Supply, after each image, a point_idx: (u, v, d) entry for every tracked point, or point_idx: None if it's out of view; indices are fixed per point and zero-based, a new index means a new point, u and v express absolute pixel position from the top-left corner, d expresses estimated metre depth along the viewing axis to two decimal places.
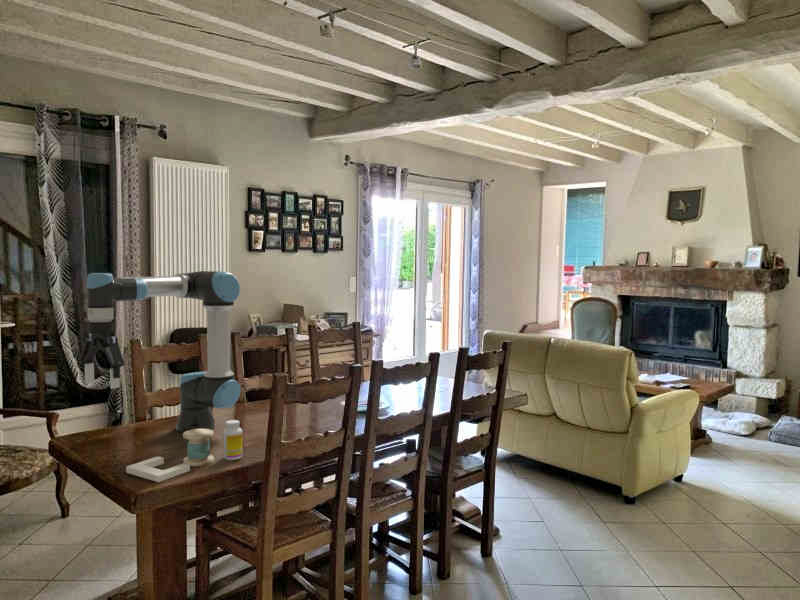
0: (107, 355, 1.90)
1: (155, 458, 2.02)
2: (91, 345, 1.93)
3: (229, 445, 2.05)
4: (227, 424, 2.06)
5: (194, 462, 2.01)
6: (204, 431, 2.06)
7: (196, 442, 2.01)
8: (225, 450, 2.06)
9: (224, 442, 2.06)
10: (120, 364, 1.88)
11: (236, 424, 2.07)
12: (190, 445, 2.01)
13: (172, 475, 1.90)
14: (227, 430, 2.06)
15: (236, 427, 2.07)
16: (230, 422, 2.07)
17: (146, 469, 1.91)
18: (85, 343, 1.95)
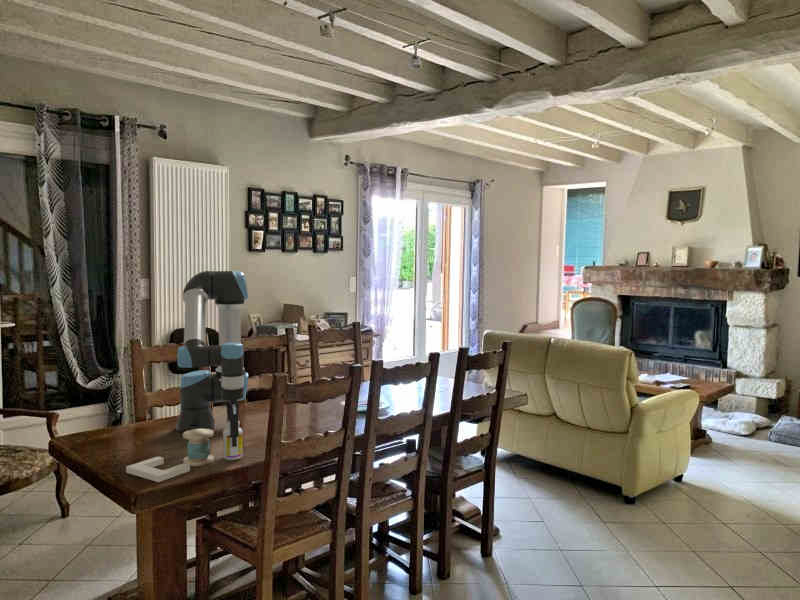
0: (230, 423, 2.05)
1: (155, 458, 2.02)
2: (227, 410, 2.09)
3: (229, 444, 2.05)
4: (227, 424, 2.06)
5: (194, 462, 2.01)
6: (204, 431, 2.06)
7: (196, 442, 2.01)
8: (225, 450, 2.06)
9: (224, 442, 2.06)
10: (234, 435, 2.02)
11: None
12: (190, 445, 2.01)
13: (172, 475, 1.90)
14: (227, 430, 2.06)
15: None
16: None
17: (146, 469, 1.91)
18: None
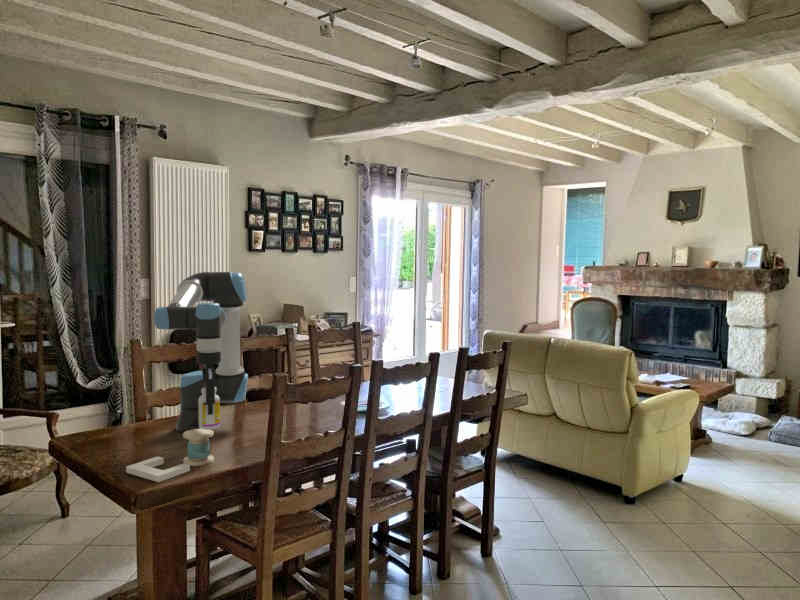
0: None
1: (155, 458, 2.02)
2: (203, 376, 1.94)
3: (205, 412, 1.90)
4: (203, 390, 1.91)
5: (194, 462, 2.01)
6: (204, 431, 2.06)
7: (196, 442, 2.01)
8: (201, 418, 1.90)
9: (199, 410, 1.91)
10: (210, 401, 1.86)
11: None
12: (190, 445, 2.01)
13: (172, 475, 1.90)
14: (203, 397, 1.91)
15: None
16: None
17: (146, 469, 1.91)
18: None
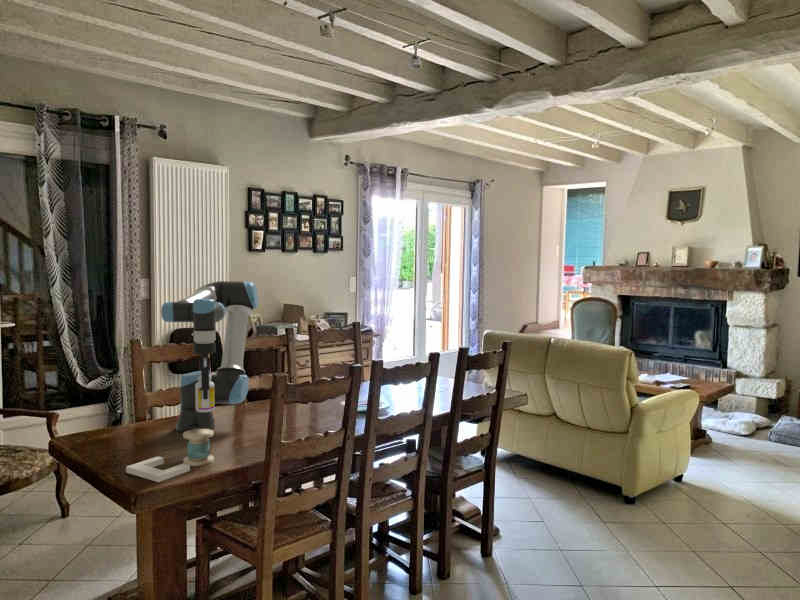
0: None
1: (155, 458, 2.02)
2: None
3: None
4: (199, 377, 2.12)
5: (194, 462, 2.01)
6: (204, 431, 2.06)
7: (196, 442, 2.01)
8: (197, 402, 2.12)
9: (196, 395, 2.12)
10: (205, 387, 2.08)
11: None
12: (190, 445, 2.01)
13: (172, 475, 1.90)
14: (199, 383, 2.12)
15: None
16: None
17: (146, 469, 1.91)
18: (201, 364, 2.19)
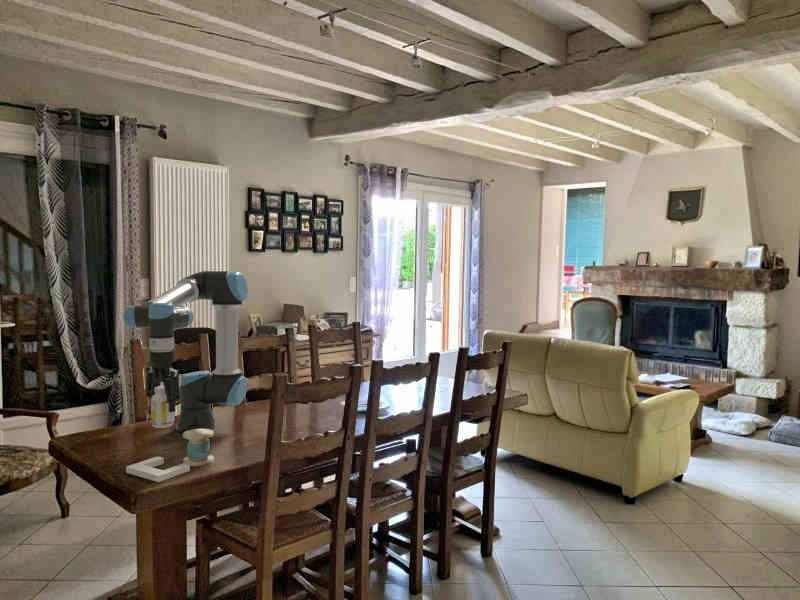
0: (165, 387, 1.92)
1: (155, 458, 2.02)
2: (153, 376, 1.94)
3: (165, 411, 1.92)
4: (159, 390, 1.92)
5: (194, 462, 2.01)
6: (204, 431, 2.06)
7: (196, 442, 2.01)
8: (159, 418, 1.92)
9: (157, 409, 1.92)
10: (176, 398, 1.91)
11: None
12: (190, 445, 2.01)
13: (172, 475, 1.90)
14: (160, 396, 1.92)
15: None
16: (161, 387, 1.93)
17: (146, 469, 1.91)
18: (147, 376, 1.96)
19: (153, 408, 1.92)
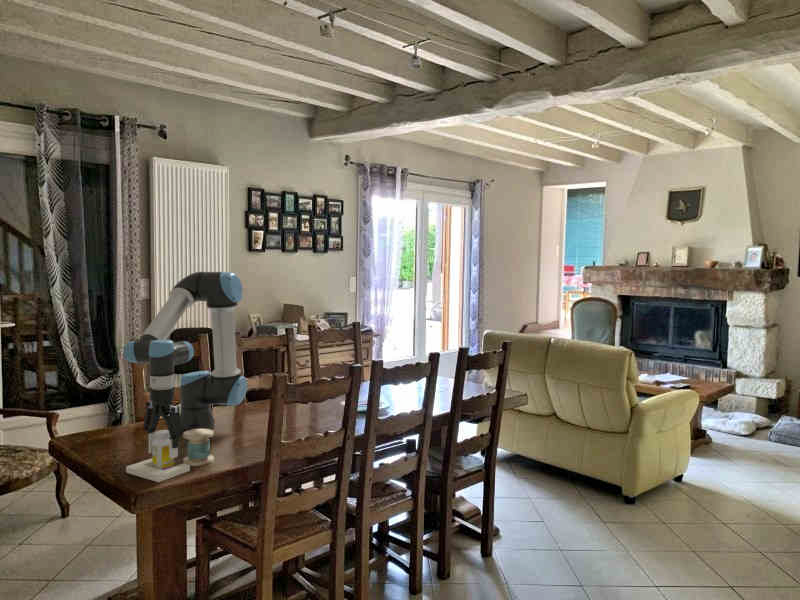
0: (167, 424, 1.92)
1: None
2: (153, 412, 1.95)
3: (165, 456, 1.93)
4: (160, 435, 1.93)
5: (194, 462, 2.01)
6: (204, 431, 2.06)
7: (196, 442, 2.01)
8: (160, 463, 1.93)
9: (158, 454, 1.93)
10: (179, 435, 1.91)
11: (169, 433, 1.95)
12: (190, 445, 2.01)
13: (172, 475, 1.90)
14: (161, 441, 1.93)
15: (169, 436, 1.96)
16: (162, 432, 1.94)
17: (146, 469, 1.91)
18: (147, 411, 1.97)
19: (154, 453, 1.93)
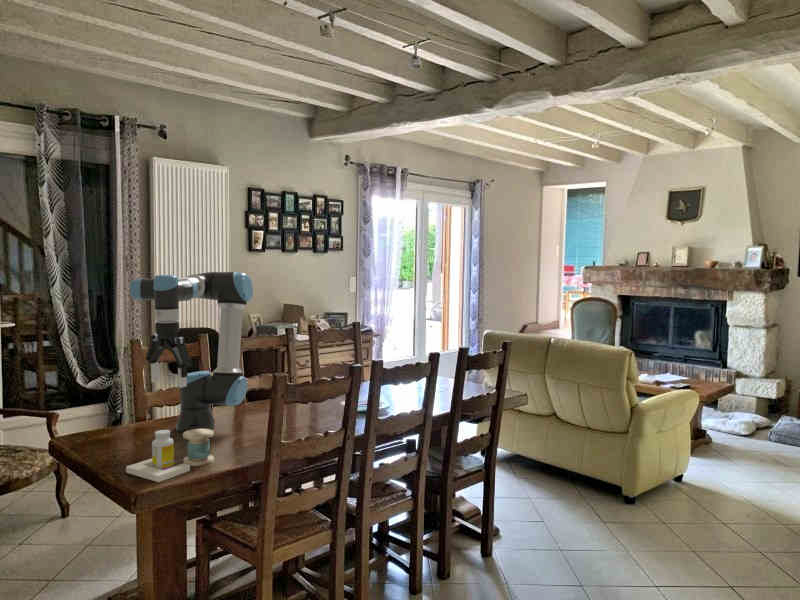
0: (175, 355, 1.95)
1: None
2: (158, 345, 1.98)
3: (165, 456, 1.93)
4: (160, 435, 1.93)
5: (194, 462, 2.01)
6: (204, 431, 2.06)
7: (196, 442, 2.01)
8: (160, 463, 1.93)
9: (158, 454, 1.93)
10: (188, 364, 1.94)
11: (169, 433, 1.95)
12: (190, 445, 2.01)
13: (172, 475, 1.90)
14: (160, 441, 1.93)
15: (169, 436, 1.95)
16: (162, 432, 1.94)
17: (146, 469, 1.91)
18: (151, 343, 2.01)
19: (154, 453, 1.93)
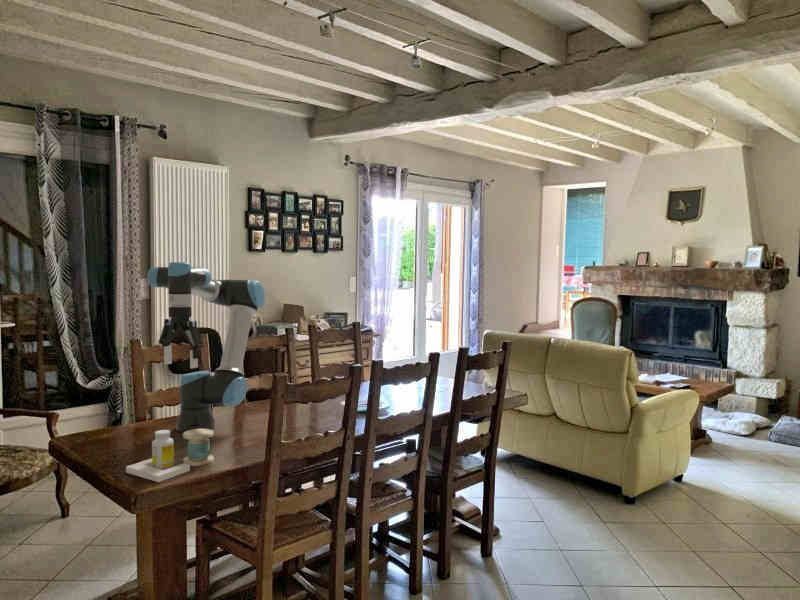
0: (187, 337, 2.06)
1: None
2: (171, 328, 2.09)
3: (165, 456, 1.93)
4: (160, 435, 1.93)
5: (194, 462, 2.01)
6: (204, 431, 2.06)
7: (196, 442, 2.01)
8: (160, 463, 1.93)
9: (158, 454, 1.93)
10: (200, 346, 2.04)
11: (169, 433, 1.95)
12: (190, 445, 2.01)
13: (172, 475, 1.90)
14: (161, 441, 1.93)
15: (169, 436, 1.95)
16: (162, 432, 1.94)
17: (146, 469, 1.91)
18: (164, 327, 2.12)
19: (154, 453, 1.93)
